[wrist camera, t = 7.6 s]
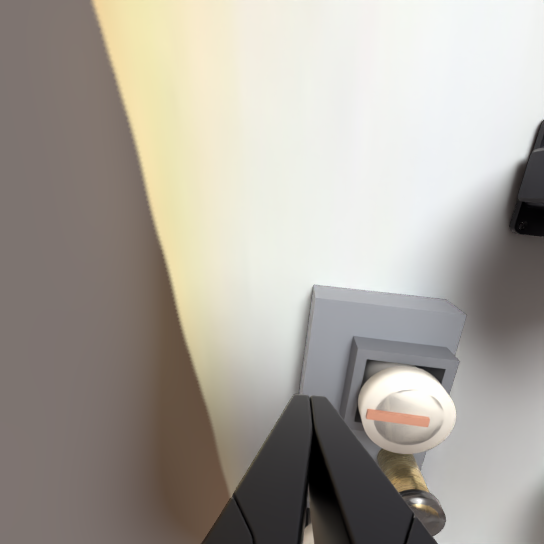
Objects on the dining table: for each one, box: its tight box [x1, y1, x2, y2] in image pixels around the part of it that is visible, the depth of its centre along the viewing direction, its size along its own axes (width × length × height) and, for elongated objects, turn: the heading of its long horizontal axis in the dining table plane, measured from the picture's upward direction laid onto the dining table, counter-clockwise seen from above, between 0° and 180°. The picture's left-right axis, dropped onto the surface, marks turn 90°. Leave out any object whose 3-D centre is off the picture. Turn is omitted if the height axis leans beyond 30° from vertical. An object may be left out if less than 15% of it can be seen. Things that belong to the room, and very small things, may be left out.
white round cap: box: [358, 359, 456, 454], centre depth 18 cm, size 5×5×6 cm
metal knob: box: [377, 448, 446, 536], centre depth 18 cm, size 3×3×4 cm
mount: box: [299, 285, 467, 528], centre depth 21 cm, size 9×21×4 cm, turn 175°
